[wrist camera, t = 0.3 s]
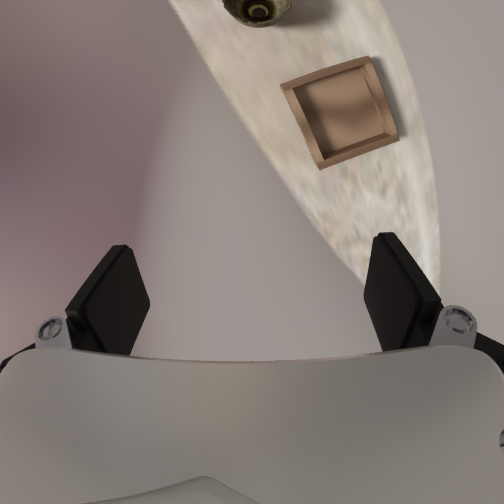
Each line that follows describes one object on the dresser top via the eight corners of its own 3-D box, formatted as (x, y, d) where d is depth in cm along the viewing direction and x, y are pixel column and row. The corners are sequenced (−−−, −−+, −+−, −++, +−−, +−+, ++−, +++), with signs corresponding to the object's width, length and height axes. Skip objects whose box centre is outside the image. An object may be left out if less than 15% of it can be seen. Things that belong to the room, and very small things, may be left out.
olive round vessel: (260, 47, 29) (259, 35, 22) (217, 16, 27) (206, -2, 20) (299, 13, 26) (308, -5, 19) (257, -18, 24) (255, -42, 17)
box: (279, 85, 32) (280, 84, 29) (360, 57, 29) (368, 55, 26) (315, 164, 37) (319, 170, 35) (390, 136, 34) (399, 140, 32)
